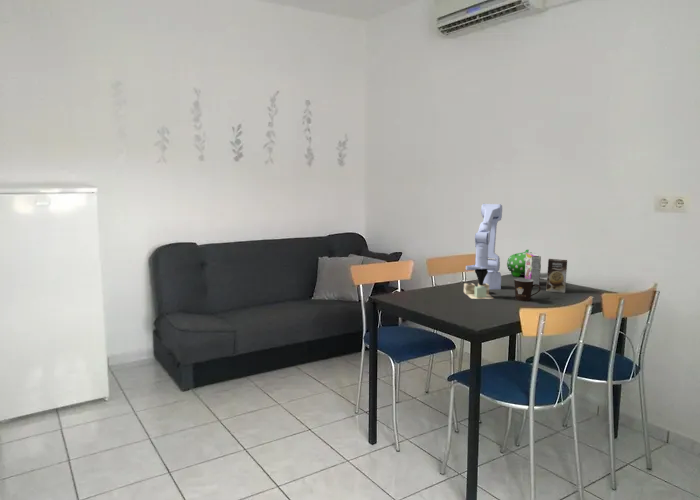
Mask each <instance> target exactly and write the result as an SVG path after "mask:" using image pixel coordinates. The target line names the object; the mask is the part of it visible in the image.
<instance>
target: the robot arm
mask: <svg viewBox="0 0 700 500" xmlns="http://www.w3.org/2000/svg"><path fill="white" fill-rule="evenodd" d="M480 207H481V208H480V214H481V216H482V218H483V220H482V221H481V222H480V224H479V226H478V230H477V232H475V235H474V244H475V264H472V265H465V270H466V271H474V273H475V275H476V277H477V282H478V283H479V285H483V283H487V284H489V290H501V289H502V287H501V286H502V274H501V272H500V267H501V261H500V260H501V258H500V256H499V255H498V254H496V252H495V251H496V239H497V226H498V222H500V221H502V219H503V205H502V203H482V204H481V206H480Z"/></svg>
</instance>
